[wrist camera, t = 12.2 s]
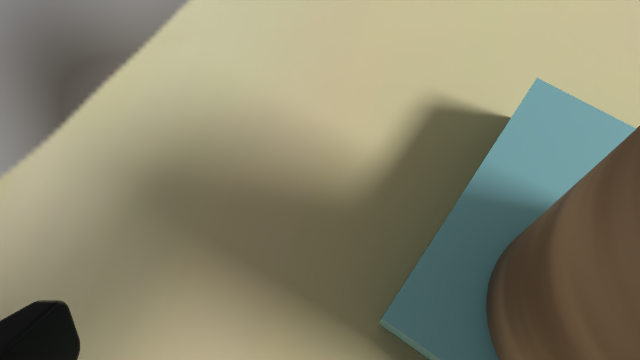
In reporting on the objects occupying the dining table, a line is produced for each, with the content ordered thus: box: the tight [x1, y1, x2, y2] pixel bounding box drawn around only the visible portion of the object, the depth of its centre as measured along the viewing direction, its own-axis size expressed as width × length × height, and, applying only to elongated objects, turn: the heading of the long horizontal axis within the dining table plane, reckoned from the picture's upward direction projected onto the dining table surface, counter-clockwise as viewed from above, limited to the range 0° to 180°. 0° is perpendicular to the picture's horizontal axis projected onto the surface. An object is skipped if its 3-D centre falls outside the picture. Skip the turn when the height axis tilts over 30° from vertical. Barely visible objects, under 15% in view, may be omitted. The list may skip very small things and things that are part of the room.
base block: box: [379, 78, 636, 360], centre depth 19 cm, size 11×11×4 cm
